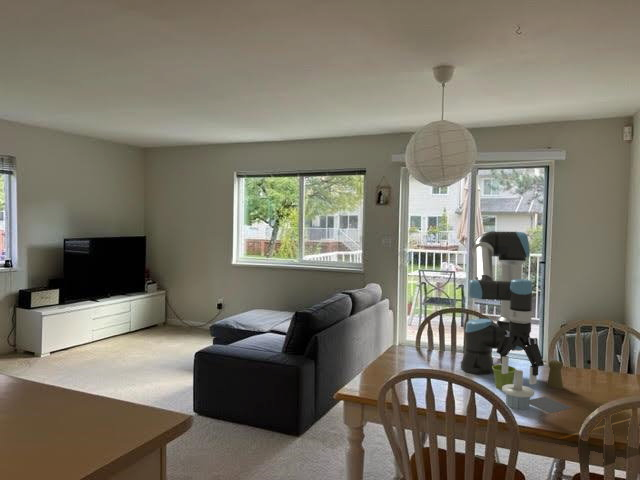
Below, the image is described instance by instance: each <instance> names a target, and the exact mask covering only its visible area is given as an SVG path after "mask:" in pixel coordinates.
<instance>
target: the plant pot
mask: <svg viewBox="0 0 640 480" xmlns="http://www.w3.org/2000/svg"><path fill="white" fill-rule="evenodd" d="M492 369H493V372H494V373H493V374H494V383H495V388H496V389H498V390H500V391H502V386H504V385H507V384H514V370H517V368H516V367H513V366H511V365H508V373H506V374H502V364H494V366H492Z"/></svg>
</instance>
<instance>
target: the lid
mask: <svg viewBox="0 0 640 480" xmlns="http://www.w3.org/2000/svg"><path fill="white" fill-rule="evenodd" d="M523 377H524V372H523V370H522V369H516V370H514V379H513V384H507V385H504V386H502V390H501V391H502V393H504V394H505V395H506V394H508V395H511V396H515V397H530V398H531V397H533V396H534V395H535V391H534V389H532V388H531V387H529V386H526V385H523V382H524V381H523V380H524V378H523Z"/></svg>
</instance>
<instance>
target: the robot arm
mask: <svg viewBox="0 0 640 480" xmlns="http://www.w3.org/2000/svg"><path fill="white" fill-rule="evenodd" d="M530 253H531V252H530V242H529V237H528V235H527V233H526V232H523V231H494V230H492V231H487V232H484V233H482V234H481V235H479V236H478V237H477V238H476V239H475V240H474V241H473V243H472V245H471V255H472V257H473V279H470V280H469V283H468V284H469V285H468V296H469V298H471V299H477V300H494V301H495V300H496V301H500V316H499V317H498V318H497V319H496V323H495V322H493V320H492V319H490V318H475V319H470V320H468V321H467V322H466V323H465V330H464V332H465V337H464V338H465V341H464V342H465V343H464V353H463V357H462V360H461V361H460V368H461V370H462V371H464V372H467V373H470V374H476V375H489V374H494V372H493V369H492V366H494V365H495V363H494V359H493V357H492V356H493V355H492V349H494V350H496V353H497V354H499V355H500V365H502V374H506V373H508V366H509V360H510V359H509V357H510V356H509V353H510V352H511V351H512V352H515V351H517V352H518V351H519V352H521V351H524V352H525V355H526V357H527V358H528V361H529V362H530V364H531V365H530V366H529V383H528V384H529V385H532V386H533V385H536V384H537V377H538V375H539V367H543V366H544V365H545V364H544V360H543V356H542V353H541V351H540V348H539V343H538V342H539V341H538V340H539V339H538V338H537V337H531V336H530V334H531V333H532V314H533V313H532V301H533V290H534V289H533V281H532V280H529V279H523V278H522V277H523V265H524V264H525V263H526V259H527V258H530V255H531V254H530ZM493 257H498V262H499V263H500V264H501V280H494V273H493V271H494V270H493Z"/></svg>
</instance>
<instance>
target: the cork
mask: <svg viewBox="0 0 640 480" xmlns="http://www.w3.org/2000/svg"><path fill="white" fill-rule="evenodd" d="M548 367H549V373H548V377H547V378H548V379H547V383H546V385H547V386H548V387H549V388H553V389H561V390H563V389H564V387H563V385H564V384H563V378H562V377H563V375H562V369H563V362H562V361H559V360H555V359H553V360H550V361H549V362H548Z"/></svg>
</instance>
